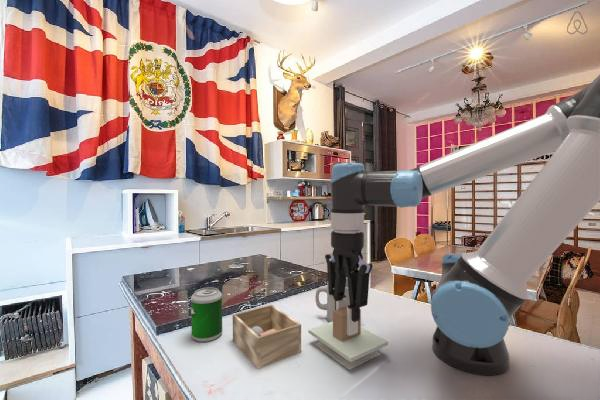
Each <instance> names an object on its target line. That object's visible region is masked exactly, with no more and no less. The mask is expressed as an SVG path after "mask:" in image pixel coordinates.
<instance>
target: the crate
mask: <svg viewBox="0 0 600 400" xmlns="http://www.w3.org/2000/svg"><path fill="white" fill-rule="evenodd" d="M255 326H258V327H261V328H262V330H263V332H266V331H268V330H271V329H275V330H277V331H275V332H272V333H269V334H265V335H262V336H258V335H257V334H256V333H255V332H254V331H253V330H252V328H253V327H255ZM232 341H233V342H234V344H235V345H236V346H237V347H238V348H239V349H240V350H241V351H242V352H243V354H244V355H245V356H246V357H247V358H248V359H249V361H251V362H252V364H253V365H254V366H255V367H256V368H257V369H261V368H264V367H266V366H269V365H271V364H274V363H277V362H279V361H282V360H284V359H286V358H287V359H288V358H289V357H292V356H295V355H297V354H300V353H302V324H301V323H300V322H298V321H297V320H296V319H294V318H292V317H290V316H289V315H288V314H286V313H285V312H283V311H282V310H280V309H279V308H278V307H276V306H275V305H273V304H269V305H264V306H261V307H260V306H259V307H257V308H253V309H249V310H244V311H241V312H237V313H233V314H232Z"/></svg>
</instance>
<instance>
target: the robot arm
mask: <svg viewBox="0 0 600 400" xmlns="http://www.w3.org/2000/svg"><path fill="white" fill-rule="evenodd" d="M552 153H553V154H552ZM549 154H552V155H551V156H550V158H549V159H548V160H547V161H546V163H545V164H544V165H543V166H542V167H541V169H540V170H539V171H538V173H537V174H536V175H535V177H534V178H533V179H532V180H531V182H530V183H528V186H527V187H526V188H525V189H524V190H523V192H522V193H521V194H520V196H519V197H518V198H517V199H516V201H515V202H514V203H513V205H512V206H511V207H510V208H509V210H508V211H507V212H506V213H505V215H504V216H503V217H502V219H500V221H499V222H498V224H496V226H495V228H493V230H492V231H491V232H490V234H489V235H488V236H487V238H486V239H485V240H484V241H483V242H482V244H481V245H480V247H479V248H478V249H477V250H475V251H471V252H463V253H446V254H444V255H442V259H441V260H442V261H441V263H440V266H441V278H440V279H439V282H438V284H437V286H436V288H435V290H434V291H433V292H432V294H431V297H430V310H431V311H430V312H431V316H432V318H433V321H434V323H435V325H436V328H435V330H434V333H433V336H432V341H431V342H432V351H433V352H434V355H435V356H437V357H438V359H440V360H441V361H442V362H445V363H446V364H448V365H449V366H452V367H453V368H456V369H458V370H461V371H463V372H467V373H471V374H475V375H482V376H497V375H502V374H504V373H506V372H507V371H508V370H509V368H510V353H509V351H508V348H507V344H506V342H505V340H504V338H505V337H506V335H507V332H508V331H509V327H510V318H512V317H513V315H514V314H515V313H516V312H517V311H518V310H519V309H520V308H521V306H522V305H523V304H524V303H525V302H526V301H527V300H528V299H529V293H528V292H529V291H528V288H527V282H529V280H530V279H531V278H532V277H533V276H534V275H535V273H537V271H538V270H539V269H540V268H541V267H542V266H543V264H545V262H547V260H548V259H549V258H550V257H551V256H552V254H553V253H554V252H555V251H556V250H557V249H558V248H559V247H560V245H562V244H563V242H564V241H565V240H566V239H567V238H568V236H569V235H570V234H572V233H573V232H574V230H575V229H576V228H577V226H579V224H580V223H581V222H582V221H583V220H584V219H585V217H587V216H588V214H589V213H590V212H591V211H592V210H593V209H594V207H596V205H597V204H598V203H599V202H600V74H599V75H597V76H596V77H595V78H594V80H593V81H591V82H590V83H589V84H588V85H586V86H585V87H583V88H582V89H581V90H579V91H578V92H576V93H574V94H573V95H570V97H568V98H565V99H563V100H561V101H559V102H557V103H555V104H552V105H551V106H549V107H548V108H547V111H546V112H545V113H544V114H542V115H539V116H537V117H534V118H532V119H530V120H527V121H525V122H523V123H520V124H518V125H516V126H513V127H510V128H509V129H508V128H507V129H506V130H504V131H501V132H499V133H496V134H494V135H492V136H489V137H486V138H484V139H482V140H480V141H477V142H475V143H472V144H470V145H468V146H465V147H463V148H460V149H458V150H455V151H454V152H451V153H448V154H445V155H444V156H441V157H438V158H436V159H434V160H431V161H428V162H426V163H424V164H422V165H420V166H417V167H415V168H412V169H409V170H408V169H407V170H405V169H400V170H384V171H383V170H382V171H366V169H365V165H364V164H363V163H361V162H342V163H336V164H334V165H333V166H332V168H331V177H330V178H331V180H330V194H331V195H330V197H331V201H330V202H331V203H330V204H331V205H330V206H331V209H330V211H331V212H330V229H331V230H332V231H331V233H330V246H331V248H333V249H332V253H328V254H325V255H324V256H325V261H326V272H327V283H328V291H329V295H332V296H333V298H334V300H335V310H337V309H341V308H344V307H347V335H348V336H351V335H353V334H356V333H358V321H359V319H360V309H361V308H362V307H365V306H368V301H369V290H370V288H369V287H370V274H371V271H372V269H373V264H372V263H371V262H370V263H367V262H366V260H364V256H363V253H362V250H363V248H364V247H365V233H364V232H363V230H364V227H365V225H364V224H365V206H375V207H377V206H378V207H398V208H409V207H410V208H415V207H418V206H419V205H421V201H422V199H425V198H428V197H430V196H433V195H436V194H438V193H442V192H445V191H446V190H449V189H452V188H453V189H454V188H455V187H458V186H461V185H464V184H466V183H469V182H472V181H475V180H478V179H480V178H484V177H486V176H489V175H492V174H495V173H498V172H501V171H503V170H506V169H509V168H511V167H514V166H518V165H521V164H523V163H525V162H529V161H531V160H534V159H537V158H540V157H542V156H545V155H549ZM346 279H347V281H348V291H349V301H350V305H348V306H347V300H346V299H343V298H345V297H346V295H344V294H345V286H346ZM333 288H334V289H333Z"/></svg>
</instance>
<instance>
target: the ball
mask: <svg viewBox="0 0 600 400" xmlns="http://www.w3.org/2000/svg"><path fill="white" fill-rule="evenodd" d="M252 330H253V331H254V332H255V333H256V334H257V335H258V336H259V334H261V333H264V332H263V330H262V328H261V327H258V326H255V327H253V328H252Z"/></svg>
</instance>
